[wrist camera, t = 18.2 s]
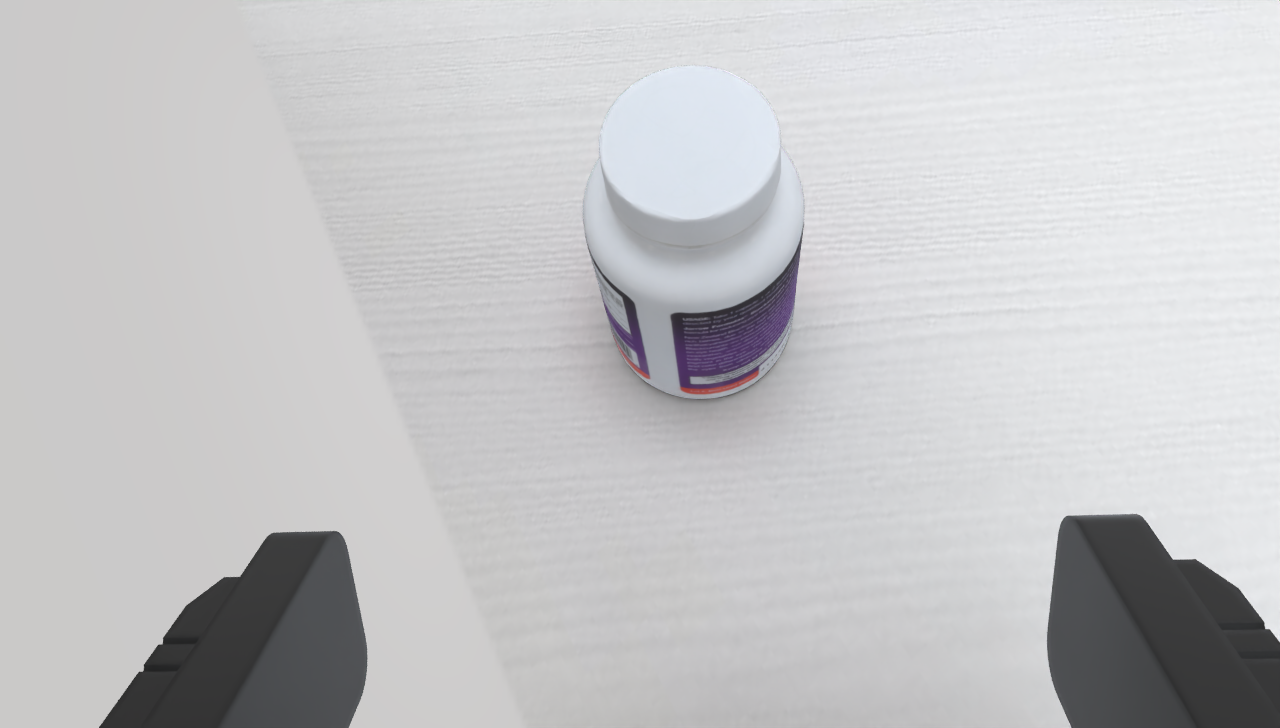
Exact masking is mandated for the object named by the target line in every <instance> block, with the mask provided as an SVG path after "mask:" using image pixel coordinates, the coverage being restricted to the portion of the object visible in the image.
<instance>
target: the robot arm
mask: <svg viewBox="0 0 1280 728" xmlns="http://www.w3.org/2000/svg"><path fill="white" fill-rule="evenodd" d="M1047 651H1048V660H1049V667H1050V673H1051V677H1052V681H1053V684H1054V688H1055V690H1056V693H1057V695H1058V698H1059V700H1060V702H1061V705H1062V707H1063V709H1064V711H1065V714H1066V716H1067V718H1068V721H1069V723H1070V725H1071V727H1072V728H1280V642H1279V641H1278V640H1277V638H1276V637H1275V636H1274V634H1273V633H1272V632H1271V631H1270V629H1265V626H1264V621H1263V620H1262V619H1261V617H1260V616H1259V615H1258V613H1257V612H1256V611H1255V610H1254V608H1253V607H1252V606H1251V604H1250V603H1249V602H1248V600H1247V599H1246V598H1245V596H1244V595H1243V594H1242V592H1241V591H1240V590H1239V588H1237V587H1236V586H1234V585H1233V584H1231V583H1230V582H1228V581H1227V580H1225V579H1224V578H1222V577H1221V576H1219V575H1218V574H1216V573H1215V572H1213V571H1212V570H1211V569H1209V568H1208V567H1206V566H1205V565H1203V564H1202V563H1200V562H1199V561H1197V560H1196V559H1192V560H1173V559H1172V558H1171V556H1170V555H1169V554H1168V552H1167V551H1166V549H1165V548H1164V546H1163V545H1162V544H1161V542H1160V541H1159V539H1158V538H1157V536H1156V535H1155V533H1154V532H1153V531H1152V529H1151V528H1150V526H1149V525H1148V523H1147V522H1146V521H1145V520H1144V518H1143V517H1141V516H1140V515H1137V514H1122V515H1080V516H1066V517H1065V518H1064V519H1063V521H1062V523H1061V525H1060V529H1059V534H1058V541H1057V550H1056V559H1055V568H1054V577H1053V586H1052V595H1051V604H1050V613H1049V622H1048V632H1047ZM366 672H367V645H366V638H365V633H364V628H363V623H362V619H361V613H360V608H359V603H358V598H357V593H356V589H355V584H354V579H353V573H352V569H351V564H350V559H349V554H348V549H347V545H346V543H345V540H344V538H343V536H342V535H341V534H340V533H339V532H337V531H327V532H326V531H324V532H283V533H272V534H270V535H269V536H268V537H267V538H266V539H265V541H264V542H263V543H262V545H261V546H260V548H259V550H258V551H257V552H256V554H255V555H254V557H253V558H252V560H251V561H250V563H249V564H248V566H247V567H246V569H245V571H244V572H243V573H242V575H241V577H224V578H223V579H221V580H220V581H219V582H217V583H216V584H215V585H213V586H212V587H211V588H209V589H208V590H207V591H205V592H204V593H203V594H201V595H200V596H199V597H197V598H196V599H195V600H193V601H192V602H191V603H189V604H188V605H187V606H186V607H185V608H184V610H183V611H182V613H181V614H180V615H179V617H178V618H177V620H176V621H175V622H174V624H173V625H172V626H171V628H170V629H169V631H168V632H167V633H166V635H165V636H164V638H163V644H162V645H158V646H157V647H156V649H155V650H154V652H153V653H152V654H151V656H150V657H149V659H148V660H147V661H146V663H145V664H144V671H143V672H139V673H138V674H137V675H136V677H135V678H134V679H133V681H132V682H131V684H130V685H129V686H128V688H127V689H126V691H125V692H124V694H123V695H122V696H121V698H120V699H119V700H118V702H117V703H116V705H115V706H114V707H113V709H112V710H111V712H110V713H109V714H108V716H107V717H106V719H105V720H104V722H103V723H102V724H101V726H100V727H99V728H349V725H350V723H351V721H352V718H353V716H354V713H355V711H356V708H357V706H358V704H359V702H360V699H361V696H362V693H363V690H364V685H365V679H366Z"/></svg>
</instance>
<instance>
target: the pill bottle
mask: <svg viewBox="0 0 1280 728" xmlns="http://www.w3.org/2000/svg"><path fill="white" fill-rule="evenodd" d="M583 223H584V230H585V237H586V241H587V245H588V249H589V252H590V256H591V259H592V263H593V266H594V269H595V273H596V277H597V280H598V284H599V287H600V291H601V295H602V298H603V302H604V306H605V309H606V312H607V316H608V319H609V323H610V326H611V330H612V333H613V336H614V339H615V341H616V344H617V346H618V349H619V351H620V353H621V355H622V356H623V358H624V360H625V361H626V363H627V364H628V365H629V366H630V367H631V369H632V370H633V371H634V372H635V373H636V374H637V375H638V376H639V377H641V378H642V379H643V380H644V381H646V382H647V383H649V384H650V385H652V386H653V387H655V388H657V389H659V390H661V391H663V392H666V393H669V394H672V395H675V396H679V397H684V398H692V399H710V398H717V397H722V396H726V395H730V394H733V393H736V392H738V391H740V390H743V389H745V388H746V387H748V386H750V385H752V384H753V383H755V382H756V381H757V380H759V379H760V378H761V377H763V376H764V375H765V374H766V373H767V372H768V371H769V370H770V369H771V367H772V366H773V365H774V364H775V362H776V361H777V360H778V358H779V357H780V355H781V353H782V351H783V350H784V347H785V345H786V343H787V340H788V337H789V334H790V330H791V325H792V320H793V313H794V303H795V293H796V282H797V274H798V266H799V258H800V250H801V243H802V235H803V227H804V195H803V189H802V185H801V181H800V178H799V175H798V172H797V169H796V167H795V165H794V163H793V161H792V160H791V158H790V157H789V155H788V154H787V152H786V151H785V149H784V148H783V147H782V146H781V133H780V127H779V124H778V120H777V117H776V115H775V112H774V110H773V109H772V107H771V105H770V104H769V102H768V100H767V99H766V98H765V97H764V96H763V94H762V93H761V92H760V91H759V90H758V89H757V88H756V87H755V86H753V85H752V84H750V83H749V82H748V81H746V80H745V79H743V78H741V77H739V76H737V75H735V74H733V73H731V72H728V71H725V70H722V69H718V68H714V67H709V66H700V65H686V66H677V67H672V68H668V69H663V70H660V71H657V72H654V73H652V74H650V75H648V76H646V77H644V78H642V79H640V80H638V81H637V82H635V83H634V84H633V85H632V86H630V87H629V88H628V89H626V90H625V91H624V92H623V93H622V94H621V95H620V96H619V97H618V99H617V100H616V101H615V102H614V104H613V105H612V106H611V108H610V109H609V111H608V113H607V115H606V117H605V119H604V122H603V125H602V128H601V132H600V138H599V159H598V160H597V162H596V164H595V166H594V168H593V170H592V172H591V174H590V177H589V179H588V182H587V186H586V190H585V195H584V200H583Z"/></svg>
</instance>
